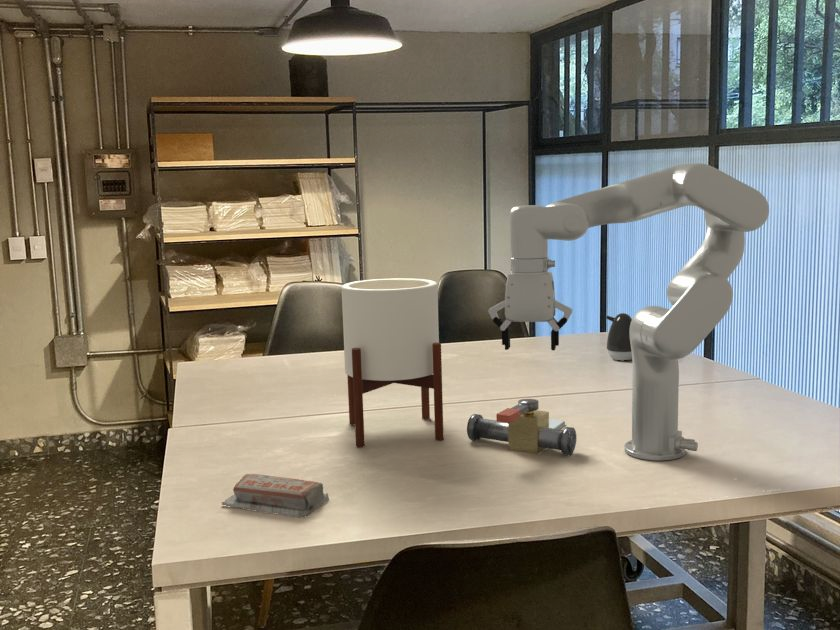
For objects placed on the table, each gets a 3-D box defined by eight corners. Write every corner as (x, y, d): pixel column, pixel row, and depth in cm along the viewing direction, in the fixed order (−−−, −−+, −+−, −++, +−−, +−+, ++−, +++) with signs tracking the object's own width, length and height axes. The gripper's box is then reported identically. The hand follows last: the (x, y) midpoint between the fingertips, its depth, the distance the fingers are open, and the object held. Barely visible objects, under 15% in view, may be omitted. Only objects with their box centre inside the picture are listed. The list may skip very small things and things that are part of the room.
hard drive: (533, 416, 210) (512, 429, 199) (565, 420, 206) (545, 434, 195) (533, 423, 210) (512, 436, 199) (565, 427, 206) (545, 441, 195)
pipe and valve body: (576, 450, 186) (576, 411, 184) (565, 458, 181) (565, 418, 180) (479, 436, 199) (479, 399, 197) (467, 443, 194) (466, 405, 192)
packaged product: (329, 477, 161) (302, 495, 152) (331, 501, 162) (304, 521, 153) (249, 466, 168) (219, 484, 159) (251, 490, 169) (221, 508, 160)
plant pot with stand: (449, 441, 195) (445, 286, 190) (352, 449, 192) (345, 292, 186) (432, 415, 217) (428, 276, 212) (344, 422, 214) (338, 280, 208)
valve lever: (523, 404, 190) (523, 397, 190) (541, 407, 188) (541, 400, 188) (493, 421, 178) (493, 413, 178) (512, 423, 176) (512, 416, 176)
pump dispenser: (604, 356, 282) (605, 310, 279) (637, 356, 280) (637, 310, 278) (607, 362, 272) (607, 315, 269) (640, 362, 270) (641, 315, 268)
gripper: (573, 264, 175) (573, 345, 178) (490, 264, 179) (491, 344, 182) (571, 268, 168) (571, 353, 171) (484, 268, 172) (486, 351, 175)
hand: (530, 348), depth 176 cm, fingers open, 9 cm apart
